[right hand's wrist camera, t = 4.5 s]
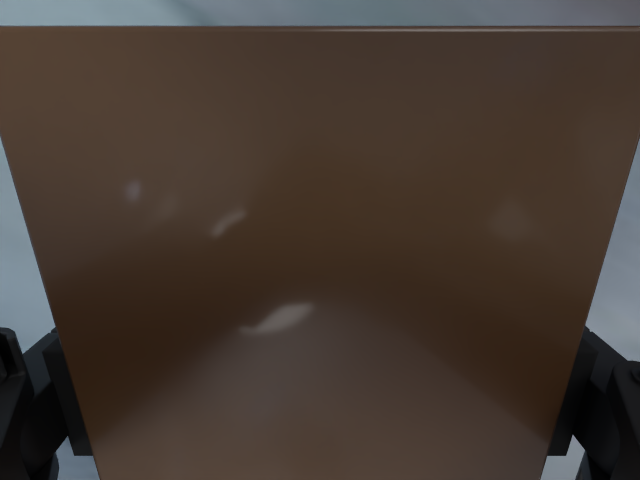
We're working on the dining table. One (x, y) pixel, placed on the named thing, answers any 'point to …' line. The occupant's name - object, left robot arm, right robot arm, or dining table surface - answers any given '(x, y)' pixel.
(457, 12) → the dining table surface
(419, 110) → the wide beam
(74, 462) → the dining table surface
